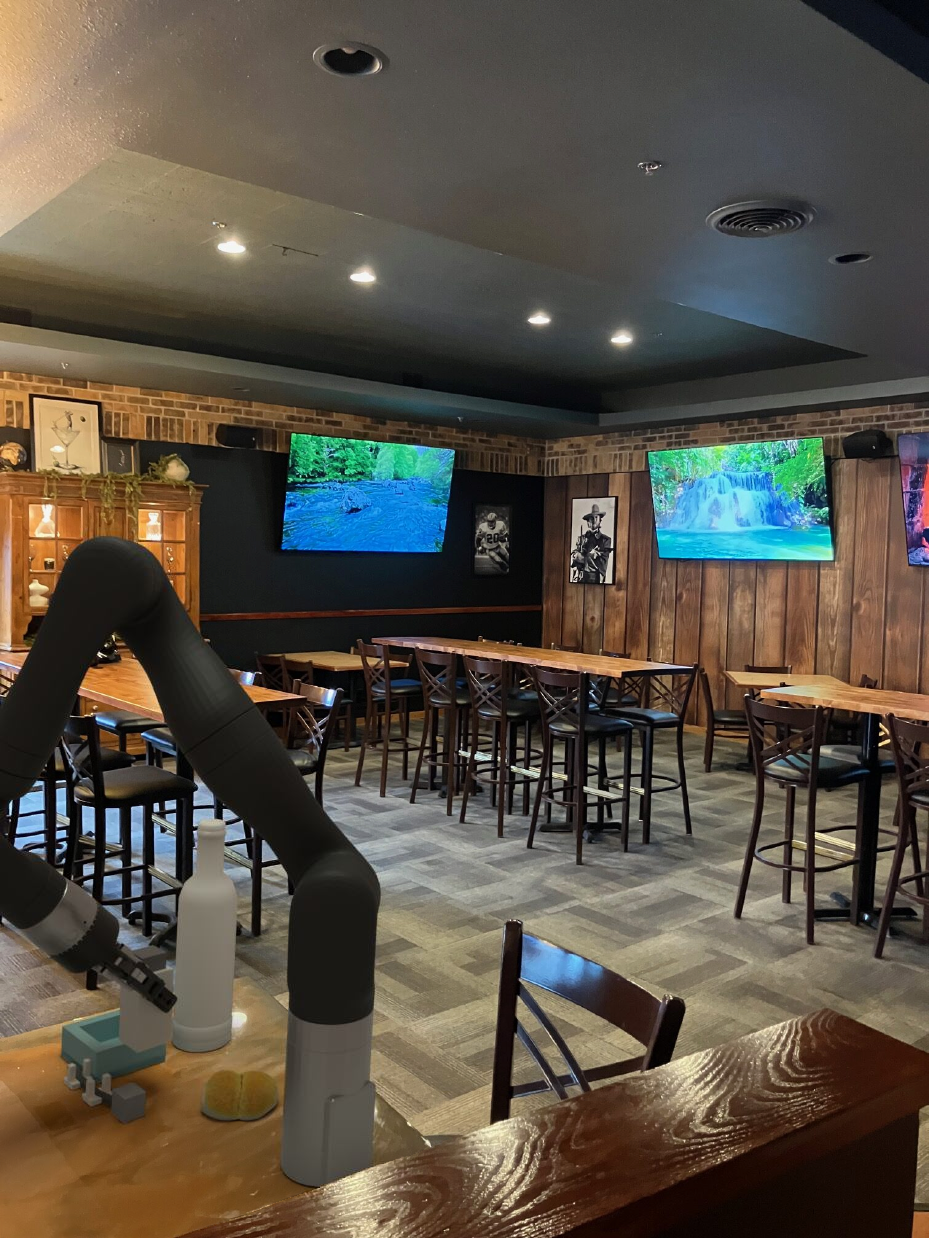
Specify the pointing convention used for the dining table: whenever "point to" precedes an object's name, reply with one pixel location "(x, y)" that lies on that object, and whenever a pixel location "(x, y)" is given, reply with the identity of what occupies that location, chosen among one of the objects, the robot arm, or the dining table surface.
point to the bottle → (205, 948)
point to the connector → (146, 1007)
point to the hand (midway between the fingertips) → (160, 998)
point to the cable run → (107, 1093)
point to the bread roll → (239, 1095)
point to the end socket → (105, 1048)
